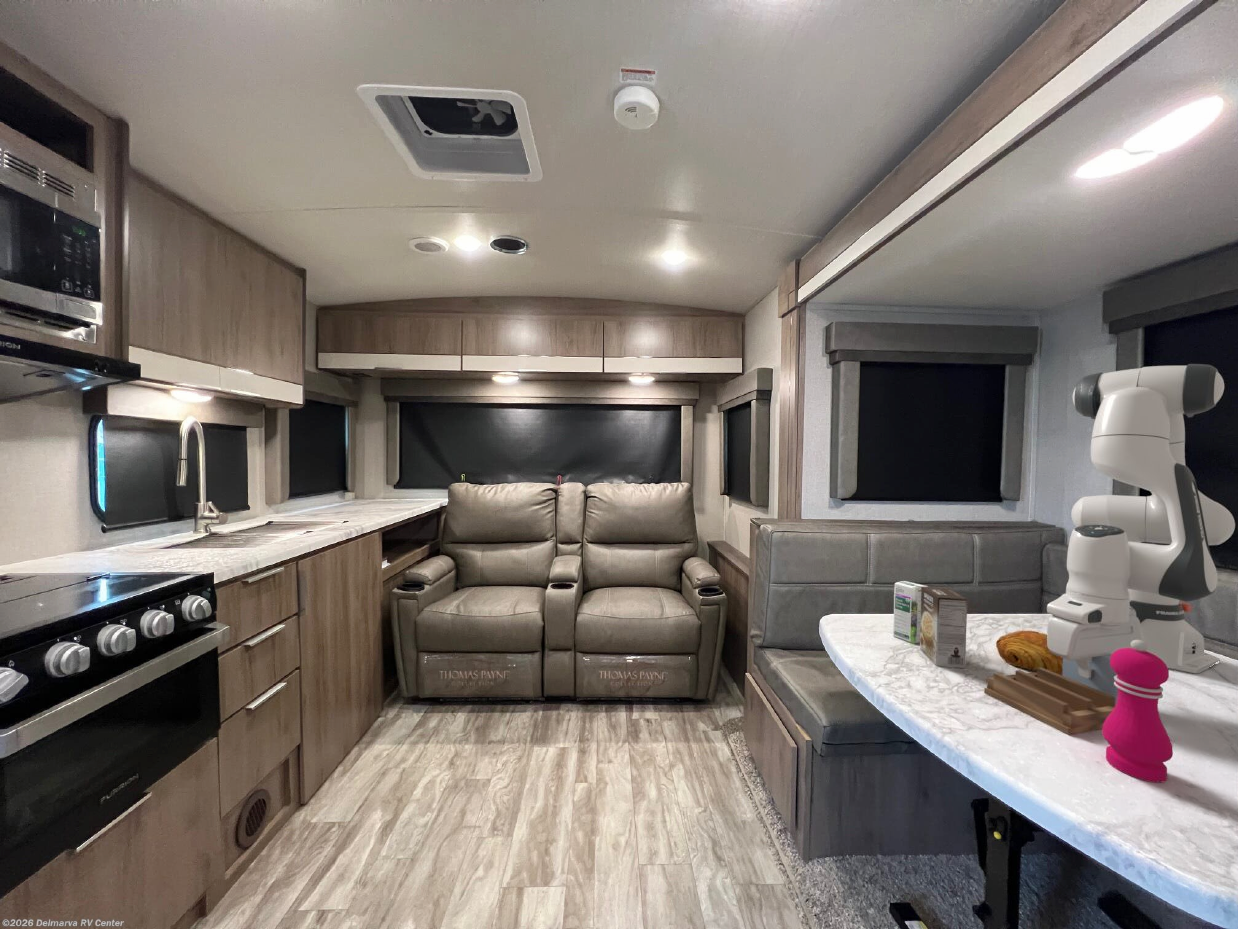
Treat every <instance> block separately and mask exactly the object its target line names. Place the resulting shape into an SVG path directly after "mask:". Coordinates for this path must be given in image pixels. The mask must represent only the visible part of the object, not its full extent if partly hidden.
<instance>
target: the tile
mask: <svg viewBox="0 0 1238 929" xmlns="http://www.w3.org/2000/svg"><path fill="white" fill-rule="evenodd" d="M1111 655H1112V654H1111ZM1111 655H1103V656H1097V657H1092V661H1091V662H1089V663H1090V666H1091V668H1092V669H1095V673H1094V677H1093V678H1085V677H1083V676H1080V675H1079V673H1078V671H1079V666H1078V665H1077V663H1076V661H1075V659H1074V660H1068V659H1065V658H1063V673H1062V676H1064V677H1066V678H1069V679H1071V680H1074V681H1076V682H1079V683H1081V684H1084V685H1086V686H1089V687H1091V688H1094V689H1096V690H1099V691H1102V692H1104V693H1107V694H1109V695H1112V696H1114V697H1115V705H1116V703H1117V698H1118V688H1117V687H1116V686H1115V685H1114V682H1115V679H1114V676H1116V675H1117V674H1116V673H1115V671H1114V670H1113V669H1112V668H1111V665H1110V657H1111Z"/></svg>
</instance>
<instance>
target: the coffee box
mask: <svg viewBox="0 0 1238 929" xmlns="http://www.w3.org/2000/svg"><path fill="white" fill-rule="evenodd" d="M967 618H968V598H966V597H964V596H963V595H962V594H959V593H958V592H956V591H955V590H953V589H951V588H950V587H935V586H927V587H921V624H920V642H919V651H921V653H923V654H924V655H925V656H926V657H927V659H929V660H930V661H931V662H932V663H933V664H934V665H936V666H937V667H946V668H947V667H950V668H961V669H966V654H967V653H966V651H967V623H968V622H967V620H968V619H967Z"/></svg>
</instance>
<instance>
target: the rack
mask: <svg viewBox="0 0 1238 929" xmlns="http://www.w3.org/2000/svg"><path fill="white" fill-rule="evenodd" d="M986 682H987V683H986V684H987V685H986V687H984V688H983V689H984V690H983V691H984V694H986V695H988V696H990V697H992V698H994V699H996V700H997V701H1000V702H1001V703H1004V704H1006V705H1008V706H1009V707H1012V708H1014V709H1016V710H1018V711H1020V712H1021V713H1024V714H1026V715H1027V716H1030V717H1032V718H1034V719H1035V720H1037V721H1040V722H1041V723H1044V724H1046V725H1047V726H1049V727H1052V728H1053V729H1056V730H1058V731H1060V732H1061V733H1063V734H1065V735H1068V736H1069V735H1075V734H1081V733H1087V732H1092V731H1098V730H1102V729H1103V724H1104V722H1105V720H1106V718H1107V717H1108V716H1109V714H1110V713H1111V712H1112V711H1113V709H1114V708H1115V697H1114V696H1112V695H1109V694H1107V693H1104V692H1102V691H1099V690H1096V689H1094V688H1091V687H1089V686H1086V685H1084V684H1081V683H1079V682H1076V681H1074V680H1071V679H1069V678H1066V677H1064V676H1061V675H1059V674H1056V673H1054V672H1051V671H1049V670H1046V669H1044V668H1041V667H1040V668H1037V672H1035V671H1032V672H1025V671H1024V670H1021V669H1018V670H1015V674H1007V675H1006V674H1005V675H1004V674H1002V673H1000V672H995V673H993V676H992V677H987V681H986Z"/></svg>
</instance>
